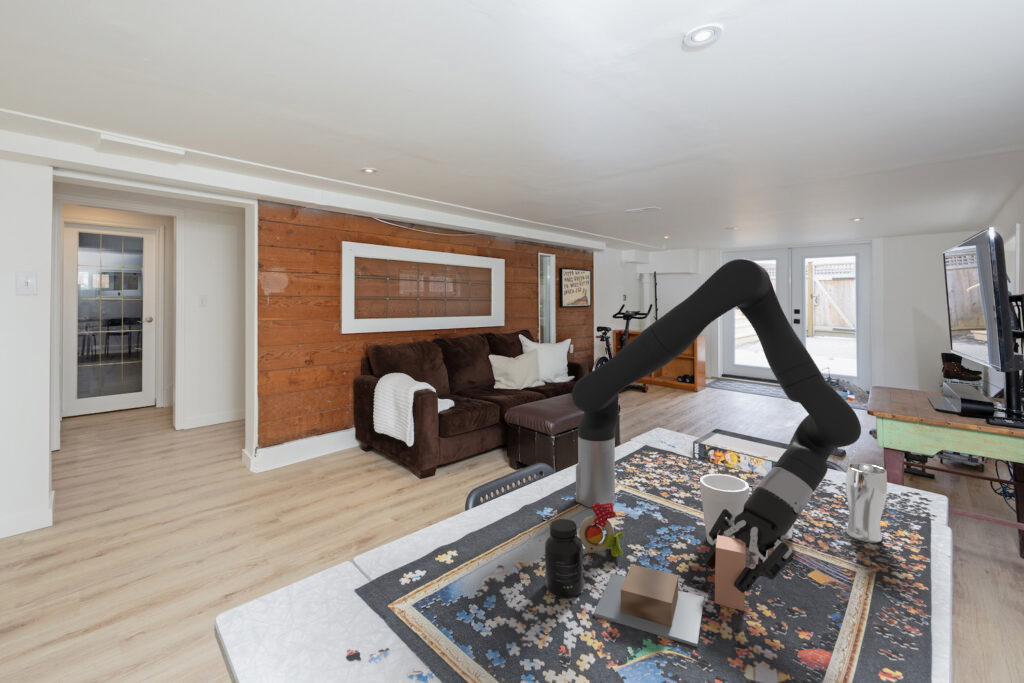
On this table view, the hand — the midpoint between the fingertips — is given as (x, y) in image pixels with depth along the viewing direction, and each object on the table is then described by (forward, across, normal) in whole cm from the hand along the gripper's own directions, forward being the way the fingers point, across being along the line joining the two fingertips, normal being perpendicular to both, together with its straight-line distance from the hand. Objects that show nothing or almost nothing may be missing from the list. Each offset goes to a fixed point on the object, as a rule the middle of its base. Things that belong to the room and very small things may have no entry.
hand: (722, 577), depth 78 cm
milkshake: (-17, -13, +23) cm, 32 cm away
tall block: (+2, 0, +4) cm, 5 cm away
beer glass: (-28, -7, +34) cm, 45 cm away
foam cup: (-7, -16, +13) cm, 22 cm away
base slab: (+12, -3, -6) cm, 13 cm away
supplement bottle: (+20, -13, -14) cm, 27 cm away
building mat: (+12, -3, -6) cm, 14 cm away
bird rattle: (+12, -20, -5) cm, 24 cm away
